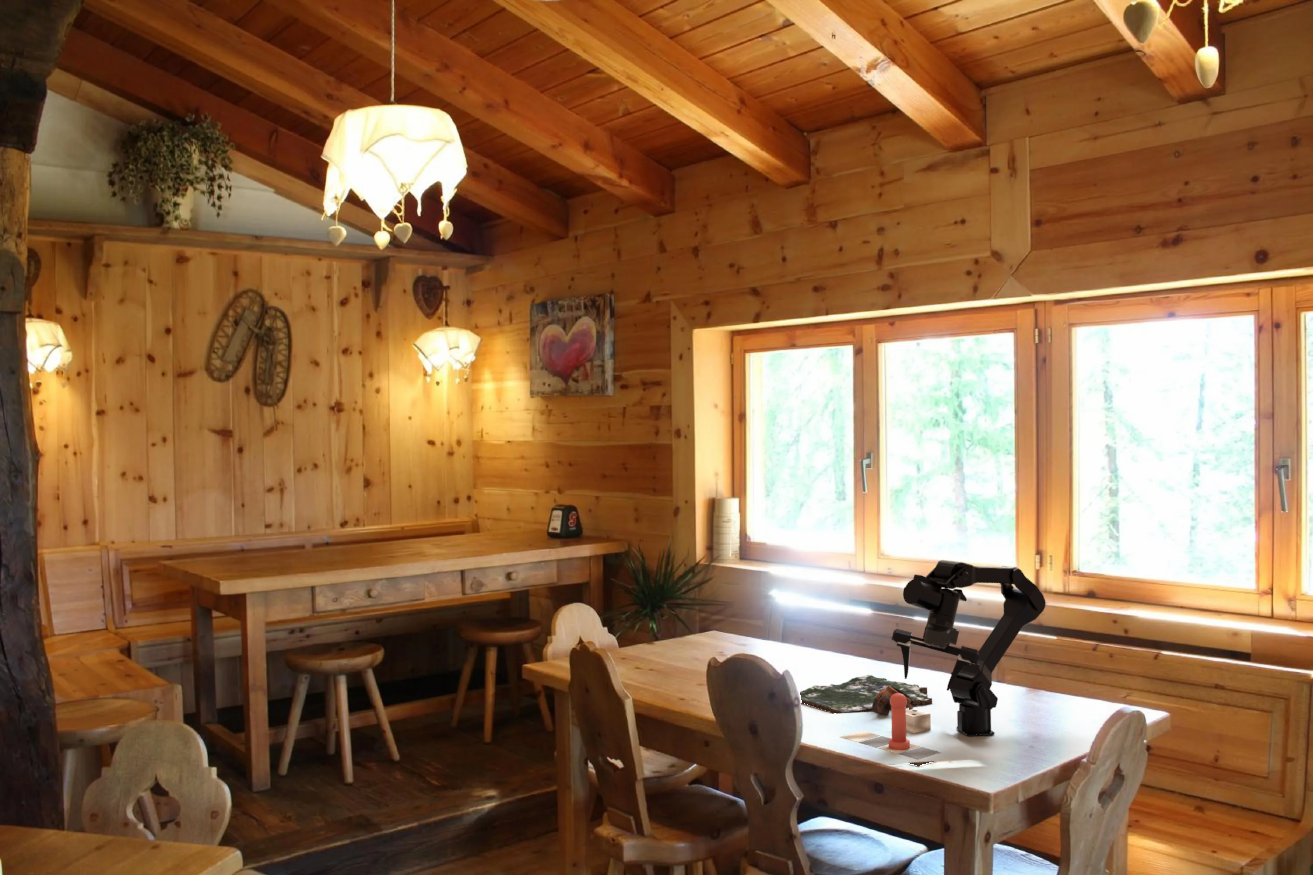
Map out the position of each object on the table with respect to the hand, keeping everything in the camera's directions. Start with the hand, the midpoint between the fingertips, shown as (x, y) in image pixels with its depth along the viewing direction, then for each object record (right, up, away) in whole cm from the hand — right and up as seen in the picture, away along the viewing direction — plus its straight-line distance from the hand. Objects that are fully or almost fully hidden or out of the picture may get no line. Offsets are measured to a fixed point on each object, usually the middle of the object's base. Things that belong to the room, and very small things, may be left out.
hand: (926, 684), depth 229 cm
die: (-1, -13, +7) cm, 15 cm away
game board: (-10, -13, -6) cm, 17 cm away
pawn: (-8, -12, -8) cm, 16 cm away
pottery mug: (-3, -13, +22) cm, 26 cm away
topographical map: (-5, -14, +40) cm, 42 cm away
